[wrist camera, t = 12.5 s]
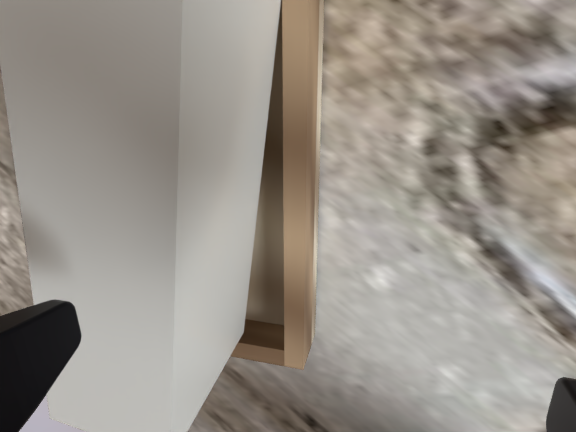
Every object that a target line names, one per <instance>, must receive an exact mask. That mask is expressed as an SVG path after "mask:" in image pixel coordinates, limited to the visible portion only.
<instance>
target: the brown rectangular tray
mask: <svg viewBox="0 0 576 432" xmlns="http://www.w3.org/2000/svg"><path fill="white" fill-rule="evenodd" d="M323 23H324V0H281V5H280V14H279V23H278V32H277V41H276V49H275V58H274V67H273V76H272V85H271V94H270V103H269V112H268V121H267V130H266V138H265V147H264V156H263V165H262V174H261V183H260V192H259V201H258V210H257V219H256V227H255V236H254V245H253V254H252V263H251V272H250V281H249V290H248V299H247V307H246V316H245V325H244V333H243V334H242V336H241V338H240V340H239V341H238V343H237V345H236V347H235V349H234V350H233V352H232V354H231V356H232V357H237V358H243V359H248V360H253V361H259V362H264V363H270V364H275V365H280V366H286V367H291V368H297V369H302V370H303V369H304V366H305V363H306V360H307V357H308V354H309V351H310V348H311V344H312V341H313V338H314V335H315V315H316V278H317V242H318V205H319V169H320V132H321V96H322V59H323Z"/></svg>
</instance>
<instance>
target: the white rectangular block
mask: <svg viewBox="0 0 576 432" xmlns="http://www.w3.org/2000/svg"><path fill="white" fill-rule="evenodd" d="M280 5H281V0H0V67H1V74H2V81H3V88H4V95H5V103H6V110H7V117H8V124H9V131H10V138H11V145H12V152H13V160H14V167H15V174H16V181H17V188H18V195H19V202H20V210H21V217H22V224H23V231H24V238H25V245H26V252H27V259H28V267H29V274H30V281H31V288H32V295H33V302H34V305H36V304H39V303H42V302H46V301H49V300H54V299H56V300H63V301H69V302H71V303H72V304H73V305H74V306H75V309H76V313H77V317H78V321H79V325H80V329H81V334H82V337H81V342H80V345H79V347H78V348H77V350H76V351H75V353H74V354H73V356H72V357H71V359H70V360H69V362H68V363H67V365H66V366H65V368H64V369H63V371H62V372H61V373H60V375H59V376H58V378H57V379H56V381H55V382H54V384H53V385H52V387H51V388H50V390H49V391H48V393H47V394H46V395H47V402H48V409H49V416H50V419H53V420H56V421H58V422H61V423H64V424H67V425H69V426H72V427H75V428H78V429H80V430H83V431H86V432H187V431H188V430H189V428H190V426H191V424H192V423H193V421H194V419H195V417H196V416H197V414H198V412H199V410H200V409H201V407H202V405H203V403H204V401H205V400H206V398H207V396H208V394H209V393H210V391H211V389H212V387H213V386H214V384H215V382H216V380H217V379H218V377H219V375H220V373H221V371H222V370H223V368H224V366H225V364H226V363H227V361H228V359H229V357H230V356H231V354H232V352H233V350H234V349H235V347H236V345H237V343H238V341H239V340H240V338H241V336H242V334H243V333H244V325H245V316H246V307H247V299H248V290H249V281H250V272H251V263H252V254H253V245H254V236H255V227H256V219H257V210H258V201H259V192H260V183H261V174H262V165H263V156H264V147H265V138H266V130H267V121H268V112H269V103H270V94H271V85H272V76H273V67H274V58H275V49H276V41H277V32H278V23H279V14H280Z"/></svg>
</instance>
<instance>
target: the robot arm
mask: <svg viewBox="0 0 576 432" xmlns="http://www.w3.org/2000/svg"><path fill="white" fill-rule="evenodd" d="M81 337H82V334H81V329H80V325H79V321H78V317H77V313H76V309H75V306H74V305H73V304H72V303H71V302H69V301H63V300H56V299H54V300H49V301H46V302H42V303H39V304H36V305H33V306H30V307H27V308H24V309H21V310H18V311H15V312H11V313H8V314H5V315H2V316H0V432H19V431H20V429H21V428H22V427H23V426H24V424H25V423H26V422H27V421H28V419H29V418H30V417H31V415H32V414H33V413H34V411H35V410H36V409H37V407H38V406H39V404H40V403H41V401H42V400H43V399H44V397H45V396H46V394H47V393H48V391H49V390H50V388H51V387H52V385H53V384H54V382H55V381H56V379H57V378H58V376H59V375H60V373H61V372H62V371H63V369H64V368H65V366H66V365H67V363H68V362H69V360H70V359H71V357H72V356H73V354H74V353H75V351H76V350H77V348H78V347H79V345H80V342H81ZM546 429H547V432H576V379H572V378H566V377H562V378H560V379H558V381H557V382H556V384H555V388H554V391H553V395H552V399H551V402H550V406H549V410H548V413H547V419H546Z"/></svg>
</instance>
